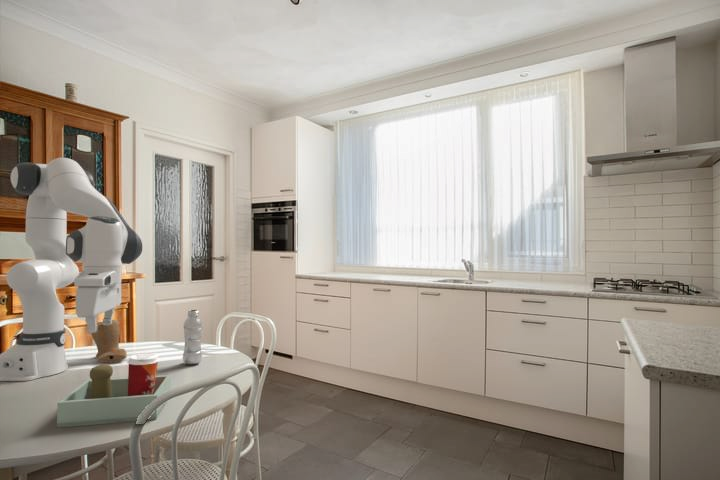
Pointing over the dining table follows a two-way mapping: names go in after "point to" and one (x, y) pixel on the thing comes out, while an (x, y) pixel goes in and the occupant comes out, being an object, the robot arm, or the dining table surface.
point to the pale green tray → (107, 404)
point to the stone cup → (108, 343)
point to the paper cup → (142, 374)
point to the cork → (101, 382)
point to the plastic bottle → (192, 338)
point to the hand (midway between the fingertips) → (100, 328)
